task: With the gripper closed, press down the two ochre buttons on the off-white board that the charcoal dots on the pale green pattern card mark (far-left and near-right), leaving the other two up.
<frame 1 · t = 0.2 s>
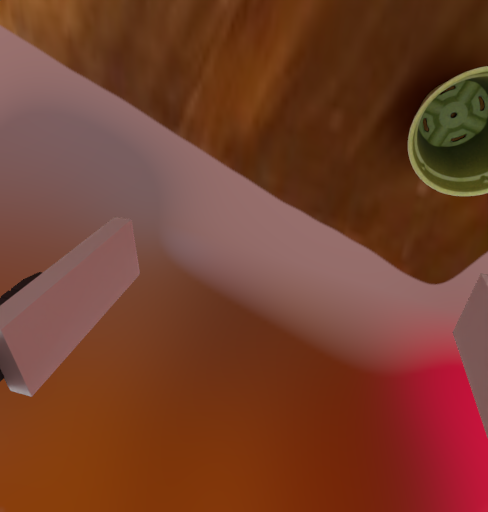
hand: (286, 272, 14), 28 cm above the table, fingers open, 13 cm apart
plant pot: (450, 114, 34), on the table
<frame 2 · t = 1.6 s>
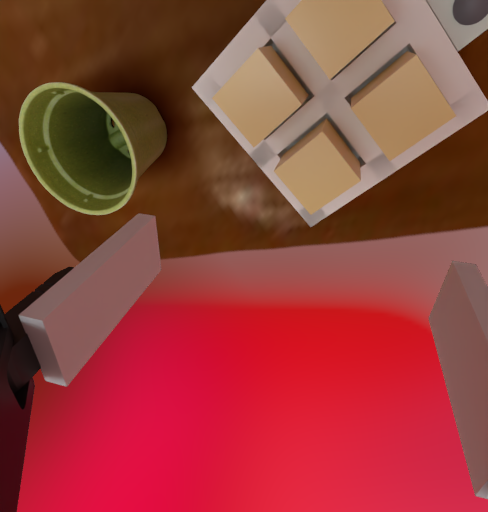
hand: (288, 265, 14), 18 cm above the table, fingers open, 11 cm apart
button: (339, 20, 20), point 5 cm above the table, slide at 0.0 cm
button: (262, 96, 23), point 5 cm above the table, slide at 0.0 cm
board: (332, 89, 27), on the table
plant pot: (137, 127, 33), on the table
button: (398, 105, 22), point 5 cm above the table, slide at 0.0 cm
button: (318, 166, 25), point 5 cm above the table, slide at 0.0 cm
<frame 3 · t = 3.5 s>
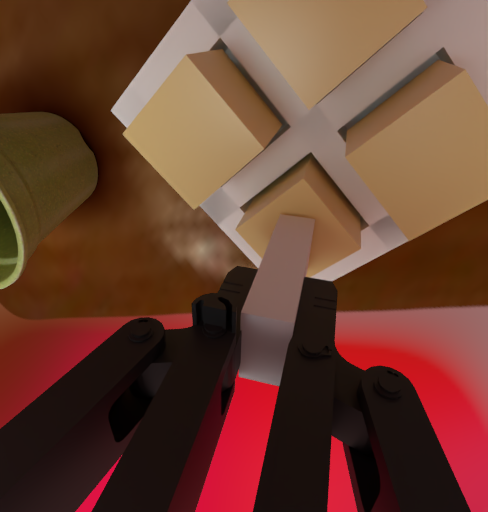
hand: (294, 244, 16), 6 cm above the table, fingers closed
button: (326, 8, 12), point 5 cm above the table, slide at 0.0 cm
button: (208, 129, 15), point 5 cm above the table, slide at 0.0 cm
board: (320, 112, 18), on the table
plant pot: (60, 157, 24), on the table
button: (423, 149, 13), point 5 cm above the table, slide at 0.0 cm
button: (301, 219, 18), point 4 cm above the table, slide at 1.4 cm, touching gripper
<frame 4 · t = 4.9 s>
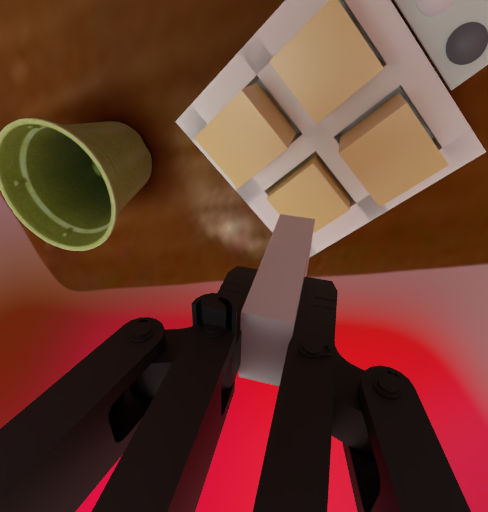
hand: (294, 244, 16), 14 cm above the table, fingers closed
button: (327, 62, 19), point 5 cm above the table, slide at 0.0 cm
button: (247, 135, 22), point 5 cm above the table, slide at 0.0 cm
board: (321, 124, 26), on the table
plant pot: (122, 155, 32), on the table
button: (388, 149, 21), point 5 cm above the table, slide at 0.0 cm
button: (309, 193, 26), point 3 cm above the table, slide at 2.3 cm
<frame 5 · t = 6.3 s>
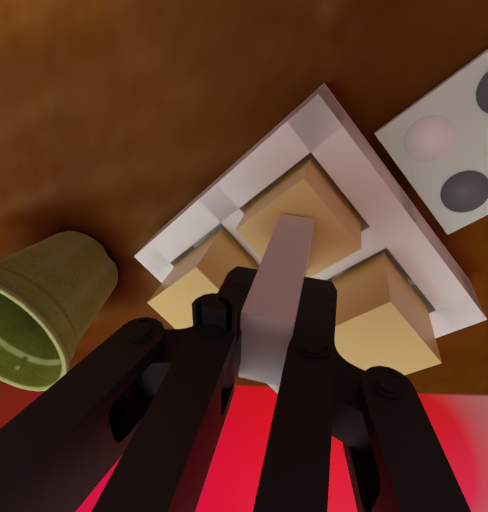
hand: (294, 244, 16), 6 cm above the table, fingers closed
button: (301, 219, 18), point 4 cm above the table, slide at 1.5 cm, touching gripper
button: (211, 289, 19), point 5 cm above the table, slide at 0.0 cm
board: (301, 252, 23), on the table
plant pot: (86, 261, 29), on the table
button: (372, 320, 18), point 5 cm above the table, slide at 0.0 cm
pattern card: (480, 141, 17), on the table
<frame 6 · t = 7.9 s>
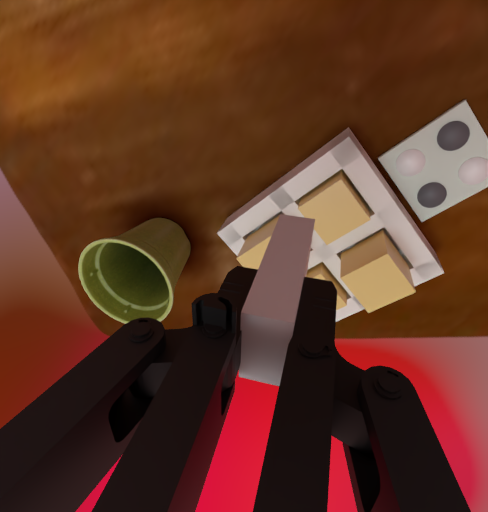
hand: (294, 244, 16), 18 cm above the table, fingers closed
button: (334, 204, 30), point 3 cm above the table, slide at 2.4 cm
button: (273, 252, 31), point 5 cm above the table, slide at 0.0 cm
board: (326, 233, 34), on the table
plant pot: (165, 241, 40), on the table
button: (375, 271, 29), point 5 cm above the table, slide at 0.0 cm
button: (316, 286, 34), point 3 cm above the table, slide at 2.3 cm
pattern card: (440, 165, 29), on the table
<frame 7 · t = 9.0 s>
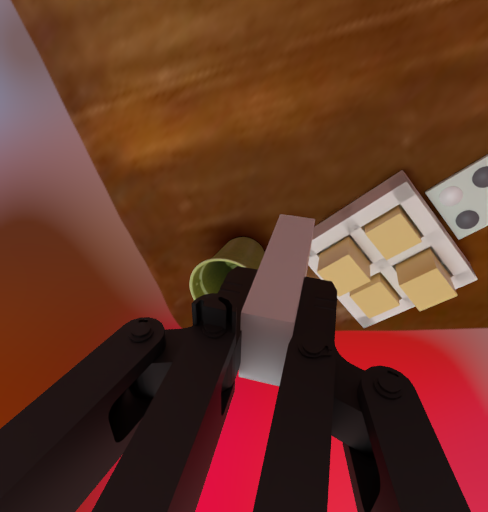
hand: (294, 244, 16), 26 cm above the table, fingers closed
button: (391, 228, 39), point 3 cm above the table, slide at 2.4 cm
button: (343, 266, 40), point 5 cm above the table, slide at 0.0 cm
board: (380, 248, 43), on the table
plant pot: (245, 254, 49), on the table
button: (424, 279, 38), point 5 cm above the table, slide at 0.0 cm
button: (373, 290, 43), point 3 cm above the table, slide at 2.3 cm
pattern card: (474, 197, 38), on the table
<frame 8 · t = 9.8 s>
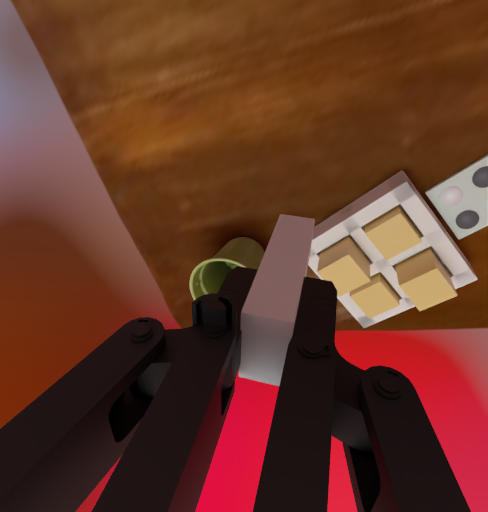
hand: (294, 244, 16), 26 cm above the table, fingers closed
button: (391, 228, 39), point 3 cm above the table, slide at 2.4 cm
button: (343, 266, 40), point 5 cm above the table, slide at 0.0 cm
board: (380, 248, 43), on the table
plant pot: (245, 254, 49), on the table
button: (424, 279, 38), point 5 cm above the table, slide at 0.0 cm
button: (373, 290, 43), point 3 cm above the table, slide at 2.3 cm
pattern card: (474, 197, 38), on the table
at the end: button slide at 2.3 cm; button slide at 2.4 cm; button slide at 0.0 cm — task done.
